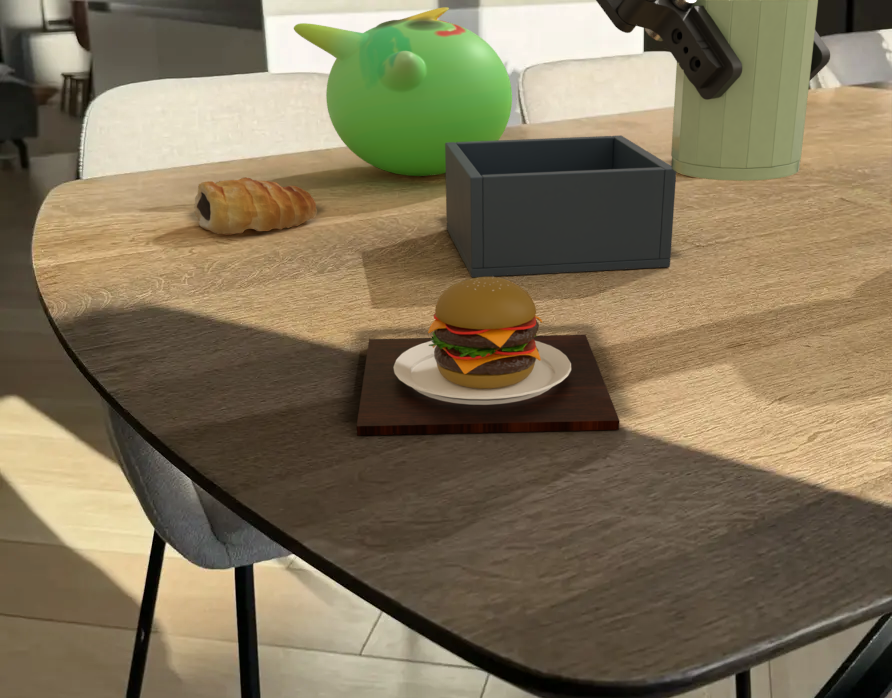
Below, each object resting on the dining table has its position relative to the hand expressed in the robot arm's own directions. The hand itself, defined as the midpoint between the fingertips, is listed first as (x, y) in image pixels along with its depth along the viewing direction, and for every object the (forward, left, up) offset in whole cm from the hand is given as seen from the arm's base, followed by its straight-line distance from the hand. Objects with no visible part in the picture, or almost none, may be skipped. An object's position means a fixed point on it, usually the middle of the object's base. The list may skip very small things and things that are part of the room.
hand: (771, 79), depth 53 cm
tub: (+1, -1, -4) cm, 5 cm away
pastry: (+27, -36, -14) cm, 47 cm away
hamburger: (+14, +1, -14) cm, 20 cm away
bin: (+5, -25, -14) cm, 29 cm away
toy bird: (+12, -54, -14) cm, 58 cm away
